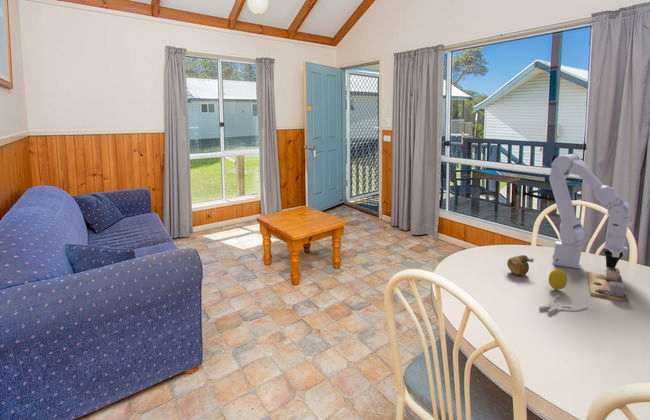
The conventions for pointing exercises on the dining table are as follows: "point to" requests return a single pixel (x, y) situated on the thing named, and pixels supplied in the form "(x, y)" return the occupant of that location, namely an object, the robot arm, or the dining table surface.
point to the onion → (519, 264)
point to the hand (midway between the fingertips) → (610, 269)
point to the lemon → (557, 279)
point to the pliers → (553, 307)
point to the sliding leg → (611, 274)
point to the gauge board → (602, 286)
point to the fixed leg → (615, 289)
